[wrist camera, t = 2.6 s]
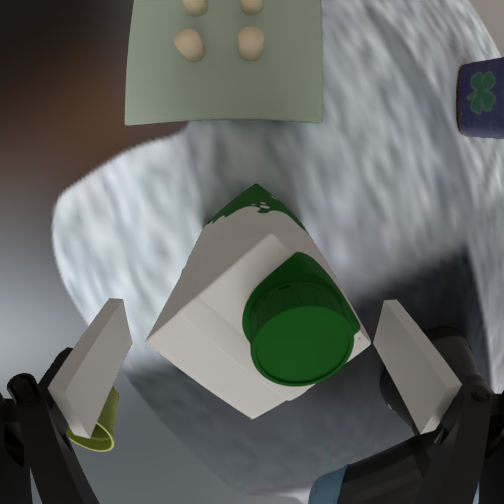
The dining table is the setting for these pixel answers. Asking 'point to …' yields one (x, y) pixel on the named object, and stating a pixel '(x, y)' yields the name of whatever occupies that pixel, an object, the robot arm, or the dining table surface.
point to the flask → (481, 99)
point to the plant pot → (100, 427)
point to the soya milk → (257, 309)
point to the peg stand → (224, 61)
